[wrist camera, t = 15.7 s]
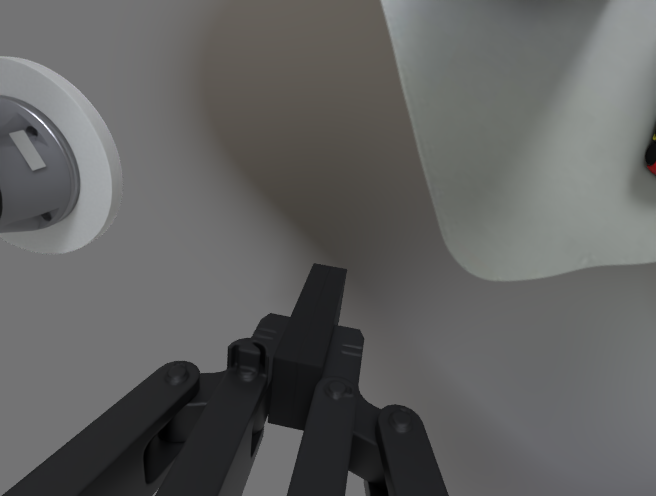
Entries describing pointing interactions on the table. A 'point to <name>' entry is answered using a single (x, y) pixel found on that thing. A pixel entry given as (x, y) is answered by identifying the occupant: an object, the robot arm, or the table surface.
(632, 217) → the table surface
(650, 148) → the race car
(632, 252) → the table surface
